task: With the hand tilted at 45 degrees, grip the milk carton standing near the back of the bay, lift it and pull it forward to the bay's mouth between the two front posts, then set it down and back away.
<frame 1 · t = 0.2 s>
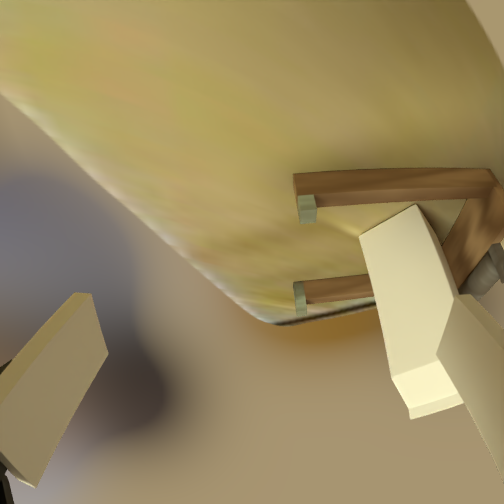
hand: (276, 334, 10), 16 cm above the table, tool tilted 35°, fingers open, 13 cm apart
milk carton: (398, 232, 32), on the table
bay: (382, 235, 32), on the table
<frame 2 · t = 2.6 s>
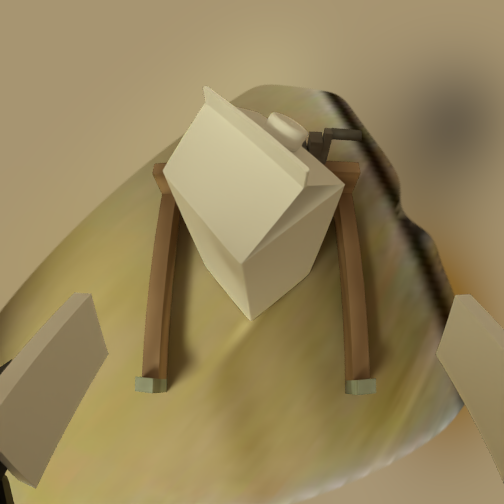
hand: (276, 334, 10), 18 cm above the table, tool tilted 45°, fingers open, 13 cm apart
milk carton: (256, 271, 30), on the table
bay: (256, 290, 30), on the table
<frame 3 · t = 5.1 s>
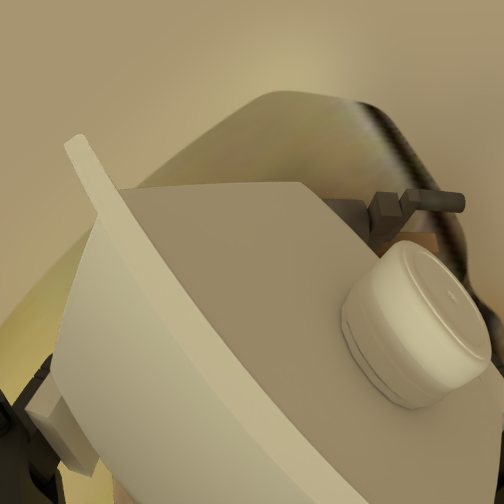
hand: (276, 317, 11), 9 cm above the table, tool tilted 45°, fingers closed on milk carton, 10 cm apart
milk carton: (269, 392, 19), on the table, touching gripper
bay: (269, 422, 18), on the table
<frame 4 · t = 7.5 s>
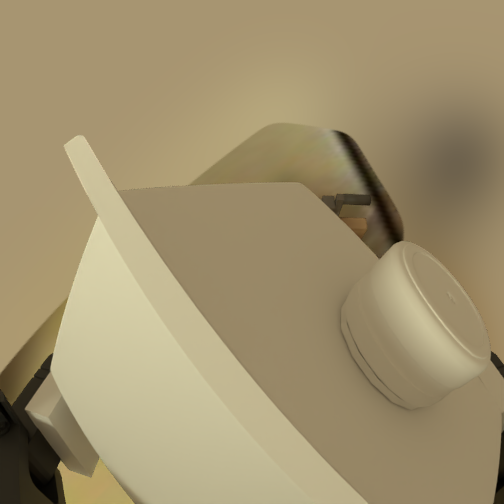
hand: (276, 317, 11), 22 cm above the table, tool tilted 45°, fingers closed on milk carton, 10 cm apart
milk carton: (269, 392, 19), point 12 cm above the table, touching gripper
bay: (269, 333, 32), on the table
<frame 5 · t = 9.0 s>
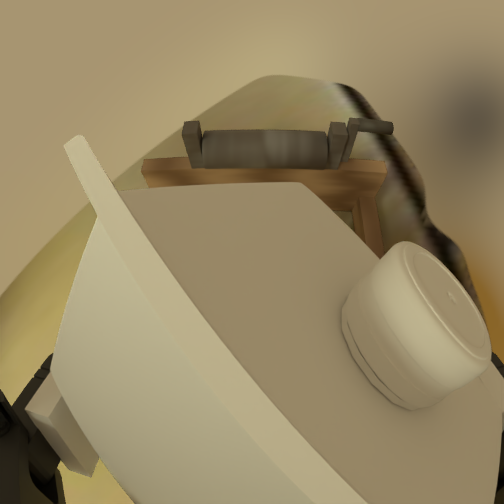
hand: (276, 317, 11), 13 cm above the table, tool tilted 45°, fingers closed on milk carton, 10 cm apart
milk carton: (269, 392, 19), point 4 cm above the table, touching gripper
bay: (263, 311, 25), on the table
when the fingers open (10 cm above the table, at t = 10.1 s): milk carton stays where it is, on the table.
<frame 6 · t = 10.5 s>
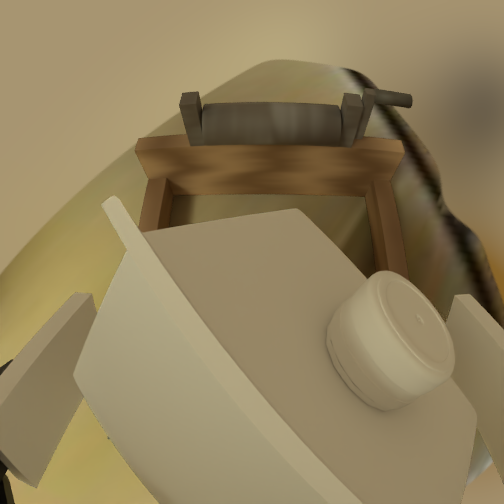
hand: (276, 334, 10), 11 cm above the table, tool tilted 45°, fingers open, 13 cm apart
milk carton: (268, 393, 20), on the table
bay: (270, 305, 22), on the table
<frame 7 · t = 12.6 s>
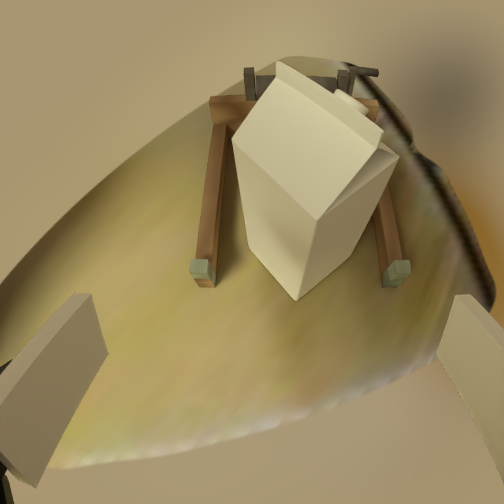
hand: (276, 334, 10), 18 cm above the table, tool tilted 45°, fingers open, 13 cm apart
milk carton: (299, 253, 31), on the table
bay: (297, 199, 33), on the table
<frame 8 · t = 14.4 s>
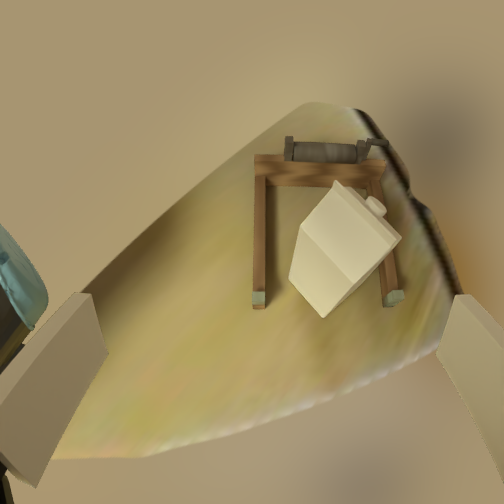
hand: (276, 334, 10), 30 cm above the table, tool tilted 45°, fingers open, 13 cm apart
milk carton: (324, 282, 42), on the table
bay: (322, 240, 44), on the table
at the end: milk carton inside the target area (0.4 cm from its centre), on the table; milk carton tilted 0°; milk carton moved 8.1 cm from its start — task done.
